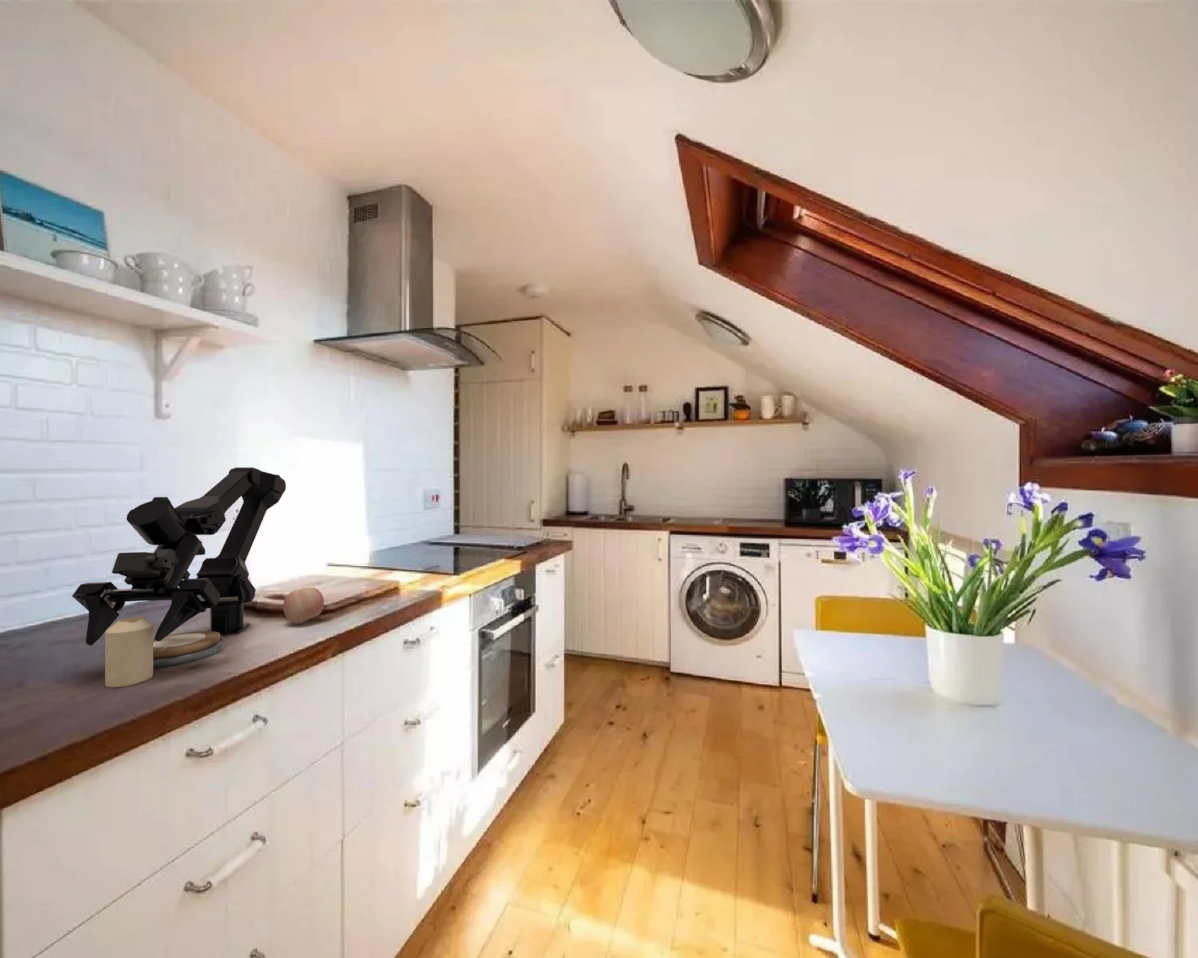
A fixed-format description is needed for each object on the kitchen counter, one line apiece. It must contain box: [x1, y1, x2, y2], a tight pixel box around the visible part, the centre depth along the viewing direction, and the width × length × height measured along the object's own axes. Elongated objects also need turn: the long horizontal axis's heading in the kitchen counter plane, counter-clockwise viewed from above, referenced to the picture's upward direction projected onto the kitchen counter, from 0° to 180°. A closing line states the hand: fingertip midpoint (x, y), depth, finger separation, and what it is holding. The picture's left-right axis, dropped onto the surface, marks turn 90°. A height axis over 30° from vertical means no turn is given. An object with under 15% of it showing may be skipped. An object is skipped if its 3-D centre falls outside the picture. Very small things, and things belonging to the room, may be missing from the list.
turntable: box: [153, 630, 221, 659], centre depth 89 cm, size 12×12×1 cm
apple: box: [282, 586, 325, 625], centre depth 109 cm, size 8×8×8 cm
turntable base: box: [153, 637, 225, 669], centre depth 89 cm, size 13×13×1 cm
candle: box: [104, 616, 154, 688], centre depth 77 cm, size 6×6×10 cm
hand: (123, 642), depth 76 cm, fingers open, 9 cm apart
